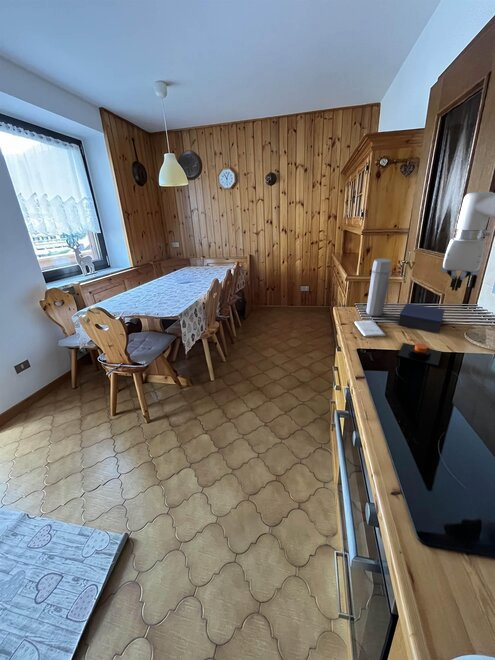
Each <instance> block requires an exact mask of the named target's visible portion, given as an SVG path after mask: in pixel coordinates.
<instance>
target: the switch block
mask: <svg viewBox="0 0 495 660" xmlns="http://www.w3.org/2000/svg"><path fill="white" fill-rule="evenodd" d="M415 345H416V344H410V343H407V342H403V343H402V345H401V347H400V349H399V351H398V353H397V357H398V358H402V359H405V360H409V361H413V362H416V363H421V364H425V365H429V366H432V367H437V368H438V367H439V364H440V360H441V356H442V351H441V350H437V349H432V348H430V347H428V348H427V351H426V352H425V353H421V352H417V351H415Z"/></svg>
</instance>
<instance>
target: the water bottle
mask: <svg viewBox="0 0 495 660" xmlns="http://www.w3.org/2000/svg"><path fill="white" fill-rule="evenodd" d="M391 266H392V260H391V259H390V258H375V259H374V260H373V263H372V268H371V275H370V276H371V277H370V283H369V289H368V297H367V302H366V303H367V304H366V310H365V311H366V314H367V315H369V316H371V317H372V316H373V317H380V316H382V315H383V313H384V309H385V308H387V305H388V301H389V289H390V278H391V275H392V274H393V272H392V271H391V269H392V267H391Z"/></svg>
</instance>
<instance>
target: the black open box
mask: <svg viewBox="0 0 495 660" xmlns="http://www.w3.org/2000/svg"><path fill="white" fill-rule="evenodd" d="M444 314H445V313H444ZM444 314H443V317H442V319H443V318H444ZM442 321H443V320H442ZM442 321H441V323H436V322H431V321H425V320H420V319H414V318H409V317H403V316H399V317H398V321H397V322H398V323H397V325H398V326H401V327H406V328H411V329H416V330H420V331H425V332H430V333H435V334H439V331H440V328H441V324H442Z"/></svg>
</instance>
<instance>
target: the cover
mask: <svg viewBox="0 0 495 660" xmlns="http://www.w3.org/2000/svg"><path fill="white" fill-rule="evenodd" d="M445 312H446V309H445V308H440V307H439V308H438V307H432V306H425V305H420V304H413V303H406V304H405V305H404V307H403V308H402V310H401V311H400V312H399V315H398V316H399V317H400V316H403V317H409V318H414V319H420V320H425V321H431V322H436V323H441V324H442V322H441V321H443V318H444V315H443V314H445ZM442 317H443V318H442Z"/></svg>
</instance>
